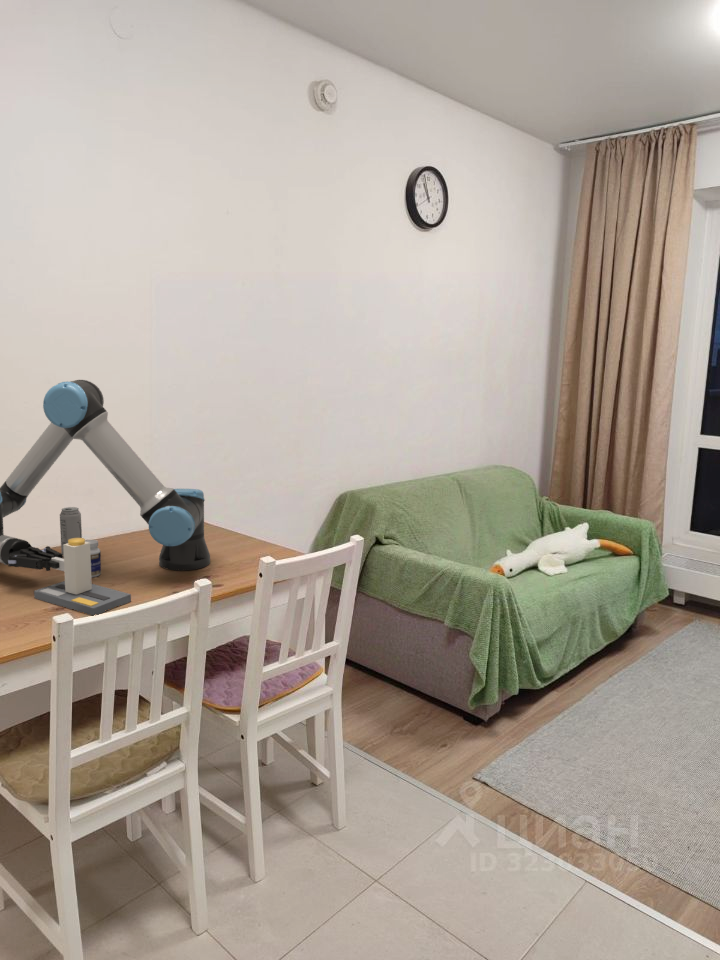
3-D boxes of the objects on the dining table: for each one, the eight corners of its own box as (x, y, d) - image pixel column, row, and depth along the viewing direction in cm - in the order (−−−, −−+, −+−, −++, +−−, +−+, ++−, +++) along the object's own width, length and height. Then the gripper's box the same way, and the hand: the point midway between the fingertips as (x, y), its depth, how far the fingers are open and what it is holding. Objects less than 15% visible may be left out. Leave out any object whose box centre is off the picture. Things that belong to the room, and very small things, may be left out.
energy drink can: (82, 558, 221) (80, 510, 218) (61, 559, 219) (58, 511, 216) (82, 552, 227) (80, 506, 224) (62, 554, 225) (59, 507, 222)
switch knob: (65, 591, 186) (63, 540, 184) (81, 586, 191) (79, 536, 188) (76, 594, 184) (73, 543, 182) (91, 589, 189) (89, 538, 186)
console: (34, 598, 187) (33, 590, 187) (72, 585, 198) (72, 577, 197) (93, 616, 177) (93, 607, 176) (131, 601, 187) (130, 593, 187)
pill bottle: (94, 579, 203) (93, 545, 201) (75, 577, 204) (74, 543, 202) (105, 572, 209) (103, 539, 207) (86, 571, 210) (85, 538, 208)
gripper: (33, 558, 204) (91, 574, 193) (-10, 570, 193) (49, 587, 182) (31, 533, 203) (90, 547, 192) (-12, 543, 192) (48, 559, 181)
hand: (70, 566), depth 187 cm, fingers closed
